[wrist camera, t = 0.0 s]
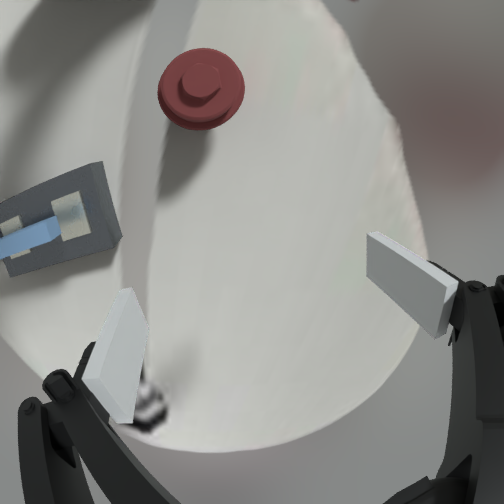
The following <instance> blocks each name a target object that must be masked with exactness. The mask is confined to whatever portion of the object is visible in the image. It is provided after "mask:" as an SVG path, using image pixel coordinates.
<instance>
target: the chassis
mask: <svg viewBox="0 0 504 504" xmlns="http://www.w3.org/2000/svg"><path fill="white" fill-rule="evenodd" d="M53 216H56V217H57V220H58V223H59V226H60V229H61V232H62V233H61V234H60V235H59V236H57V237H56V238H55V239H53V240H52V241H50V242H47V243H44V244H41V245H38V246H35V247H32V248H30V249H27V250H24V251H21V252H19V253H16V254H13V255H11V256H8V257H5V258H3V260H4V263H5V265H6V268H7V270H8V273H9V275H10V277H14V276H17V275H20V274H23V273H27V272H30V271H33V270H37V269H40V268H43V267H47V266H50V265H54V264H57V263H60V262H64V261H67V260H71V259H74V258H78V257H82V256H85V255H89V254H93V253H96V252H100V251H104V250H107V249H111V248H114V247H115V245H116V244H117V243H118V242H119V240H120V239H121V238H122V237H123V236H122V233H121V230H120V226H119V223H118V220H117V216H116V213H115V209H114V206H113V202H112V198H111V195H110V191H109V187H108V183H107V179H106V175H105V170H104V166H103V161H100V162H95V163H91V164H88V165H85V166H82V167H80V168H77V169H74V170H72V171H69V172H67V173H64V174H62V175H60V176H57V177H55V178H52V179H50V180H48V181H46V182H43V183H41V184H39V185H37V186H34V187H32V188H30V189H28V190H26V191H24V192H22V193H20V194H18V195H16V196H14V197H12V198H10V199H8V200H6V201H4V202H2V203H0V238H2V237H4V236H6V235H9V234H11V233H13V232H16V231H18V230H20V229H23V228H25V227H28V226H30V225H32V224H35V223H37V222H40V221H43V220H45V219H48V218H50V217H53Z"/></svg>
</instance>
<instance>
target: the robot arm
mask: <svg viewBox="0 0 504 504" xmlns="http://www.w3.org/2000/svg"><path fill="white" fill-rule="evenodd" d="M366 276H367V277H368V278H369V279H370V280H371V281H372V282H374V283H375V284H376V285H377V286H378V287H379V288H380V289H381V290H382V291H384V292H385V293H386V294H387V295H388V296H389V297H390V298H391V299H392V300H393V301H395V302H396V303H397V304H398V305H399V306H400V307H401V308H402V309H403V310H404V311H405V312H406V313H407V314H409V315H410V316H411V317H412V318H413V319H414V320H415V321H416V322H417V323H418V324H419V325H420V326H421V327H422V328H423V329H424V330H425V331H426V332H427V333H428V334H429V335H430V336H431V337H432V338H433V339H437V338H439V337H440V336H442V335H444V334H446V331H447V328H448V324H449V323H450V324H451V325H452V326H453V330H452V334H451V337H450V340H449V343H448V346H450V344H451V342H452V351H453V352H452V353H453V374H452V378H453V379H452V399H451V412H450V422H449V430H448V438H447V444H446V450H445V456H444V459H443V462H442V465H441V466H440V468H439V470H438V473H437V475H436V479H432V480H429V479H428V477H427V476H426V477H424V478H422V479H421V480H419V481H417V482H416V483H414V484H412V485H410V486H409V487H407V488H405V489H403V490H401V491H399V492H397V493H396V494H395V495H394V496H392V497H391V498H390V499H388V500H387V501H386V502H385V503H383V504H504V275H500V276H498V277H497V279H496V283H495V286H491V287H487V286H486V285H485V284H483V283H481V282H479V281H468V282H466V283H465V282H464V281H462V280H461V279H459V278H458V277H456V276H455V275H453V274H451V273H450V272H448V271H447V270H446V269H444V268H442V267H441V266H439V265H438V264H436V263H434V262H431V261H428V260H425V259H423V258H422V257H420V256H418V255H417V254H415V253H414V252H412V251H410V250H409V249H407V248H405V247H404V246H402V245H400V244H399V243H397V242H395V241H394V240H392V239H390V238H388V237H387V236H385V235H383V234H382V233H380V232H378V231H376V232H371V233H367V274H366ZM148 333H149V326H148V324H147V322H146V319H145V317H144V315H143V312H142V310H141V308H140V305H139V303H138V301H137V298H136V296H135V293H134V290H133V288H132V287H130V288H126V289H121V290H119V292H118V294H117V297H116V299H115V301H114V303H113V305H112V307H111V309H110V312H109V314H108V316H107V318H106V320H105V323H104V325H103V327H102V329H101V332H100V334H99V336H98V339H97V341H96V342H91V343H90V344H89V345H88V347H87V348H86V349H85V350H84V353H83V355H82V359H81V360H80V362H79V365H78V367H77V369H76V372H75V374H74V377H73V378H72V377H71V375H70V374H69V373H68V372H67V371H66V370H64V369H59V370H55V371H53V372H51V373H50V374H49V375H48V376H47V377H46V378H45V380H44V382H43V384H42V387H43V390H44V391H45V393H46V394H47V395H48V396H49V398H50V399H51V400H52V402H49V403H46V404H42V403H41V401H39V399H38V398H36V397H29V398H27V399H26V400H24V401H23V402H22V403H21V405H20V407H19V410H18V446H19V462H20V472H21V480H22V487H23V493H24V499H25V504H94V501H93V499H92V496H91V493H90V490H89V487H88V484H87V481H86V478H85V474H84V471H83V468H82V464H81V461H80V457H79V454H80V456H81V458H82V459H83V461H84V463H85V464H86V466H87V468H88V470H89V471H90V473H91V474H92V476H93V478H94V479H95V480H96V482H97V484H98V485H99V487H100V488H101V490H102V491H103V492H104V494H105V495H106V497H107V498H108V499H109V501H110V502H111V504H181V503H180V502H179V501H178V500H177V499H175V498H174V497H173V496H172V495H171V494H170V493H169V492H168V491H167V490H166V489H165V488H164V487H163V486H162V485H161V484H160V483H159V482H158V481H157V480H156V479H155V478H154V477H153V476H152V475H151V474H150V473H149V472H148V470H147V469H146V468H145V467H144V466H143V465H142V464H141V463H140V462H139V460H138V459H137V458H136V457H135V456H134V454H132V452H131V451H130V450H129V448H128V447H127V446H126V445H125V444H124V442H123V441H122V440H121V439H120V437H119V436H118V435H117V433H116V432H115V431H114V429H113V428H112V427H111V426H110V425H109V423H108V422H109V417H111V418H112V419H113V420H114V421H115V422H116V424H122V423H133V417H134V410H135V403H136V397H137V390H138V384H139V379H140V373H141V368H142V362H143V357H144V352H145V347H146V342H147V337H148Z"/></svg>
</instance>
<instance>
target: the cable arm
mask: <svg viewBox="0 0 504 504" xmlns="http://www.w3.org/2000/svg"><path fill="white" fill-rule="evenodd" d="M61 233H62V232H61V229H60V226H59V223H58V220H57V217H56V216H53V217H50V218H48V219H45V220H43V221H40V222H37V223H35V224H32V225H30V226H28V227H25V228H23V229H20V230H18V231H16V232H13V233H11V234H9V235H6V236H4V237H2V238H0V259H3V258H5V257H8V256H11V255H13V254H16V253H19V252H21V251H24V250H27V249H30V248H32V247H35V246H38V245H41V244H44V243H47V242H50V241H52V240H53V239H55V238H56V237H57V236H59V235H60V234H61Z"/></svg>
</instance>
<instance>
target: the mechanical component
mask: <svg viewBox="0 0 504 504" xmlns="http://www.w3.org/2000/svg"><path fill="white" fill-rule="evenodd" d="M244 92H245V84H244V79H243V76H242V74H241V71H240V70H239V68H238V67H237V66H236V64H235V63H234V61H233V60H232V59H231V58H230V57H228V56H227V55H226V54H224V53H222V52H220V51H217V50H214V49H208V48H199V49H193V50H189V51H187V52H184V53H182V54H180V55H179V56H177V57H176V58H175V59H174V60H173V61H172V62H171V63H170V64H169V65H168V66H167V68H166V70H165V71H164V73H163V74H162V76H161V79H160V81H159V85H158V100H159V104H160V106H161V109H162V110H163V112H164V114H165V115H166V116H167V117H168V118H169V119H170V120H171V121H172V122H174V123H175V124H177V125H179V126H181V127H183V128H186V129H190V130H208V129H212V128H215V127H217V126H220V125H222V124H223V123H225V122H226V121H228V120H229V119H230V118H231V117H232V116H233V115H234V114H235V113H236V112H237V110H238V109H239V107H240V105H241V103H242V101H243V98H244Z"/></svg>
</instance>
